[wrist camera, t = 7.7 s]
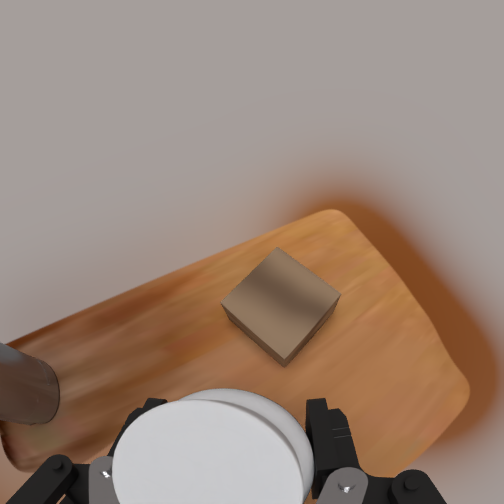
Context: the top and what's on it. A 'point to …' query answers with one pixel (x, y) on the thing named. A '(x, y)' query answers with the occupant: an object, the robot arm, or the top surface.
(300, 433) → the pill bottle
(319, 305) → the walnut block
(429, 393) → the top surface
